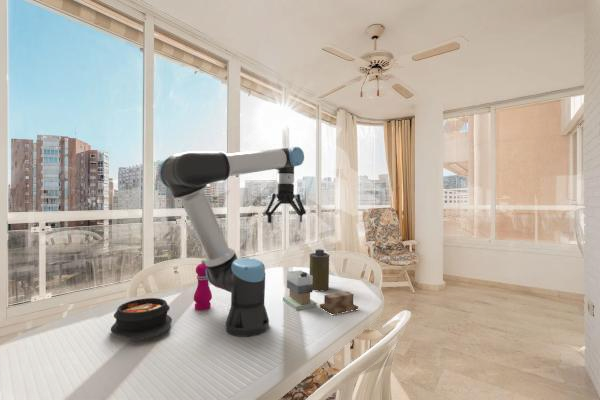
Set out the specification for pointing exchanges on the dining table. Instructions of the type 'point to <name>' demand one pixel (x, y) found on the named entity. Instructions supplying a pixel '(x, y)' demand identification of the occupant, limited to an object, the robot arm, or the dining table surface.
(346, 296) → the stand
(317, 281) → the canister
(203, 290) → the pepper mill
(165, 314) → the casserole
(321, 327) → the dining table surface
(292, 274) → the cover plate
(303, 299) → the stand
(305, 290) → the base plate
